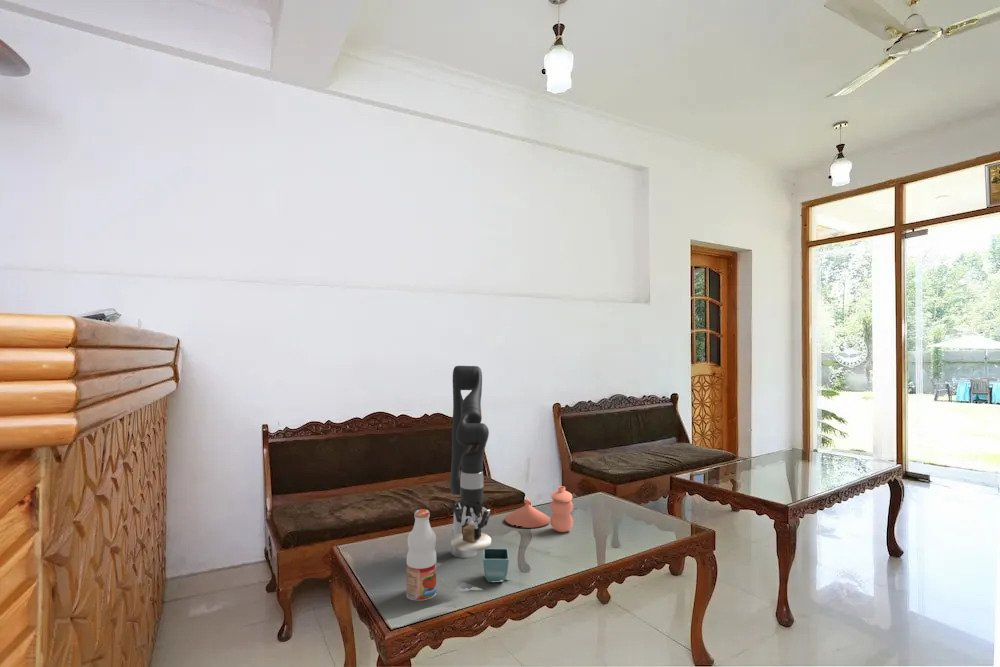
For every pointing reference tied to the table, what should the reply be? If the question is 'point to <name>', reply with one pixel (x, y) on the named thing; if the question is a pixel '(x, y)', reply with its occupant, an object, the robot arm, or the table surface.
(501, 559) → the flower pot
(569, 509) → the ceramic vessels
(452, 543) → the lid
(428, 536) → the fruit juice
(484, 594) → the table surface
